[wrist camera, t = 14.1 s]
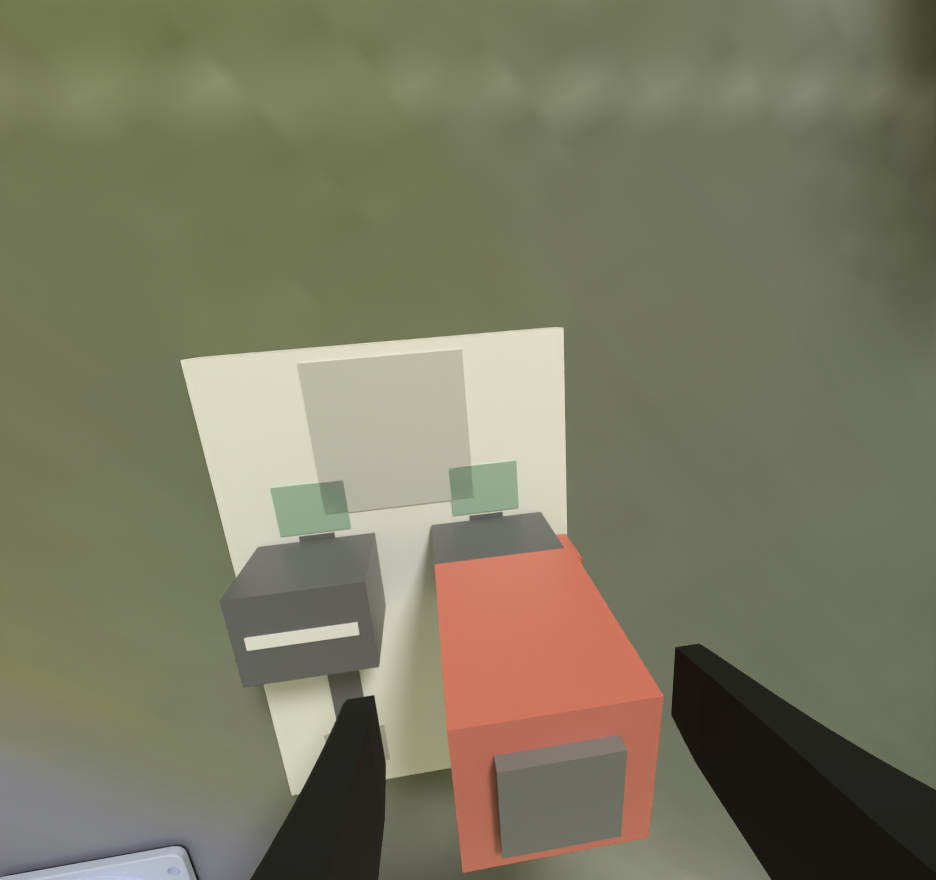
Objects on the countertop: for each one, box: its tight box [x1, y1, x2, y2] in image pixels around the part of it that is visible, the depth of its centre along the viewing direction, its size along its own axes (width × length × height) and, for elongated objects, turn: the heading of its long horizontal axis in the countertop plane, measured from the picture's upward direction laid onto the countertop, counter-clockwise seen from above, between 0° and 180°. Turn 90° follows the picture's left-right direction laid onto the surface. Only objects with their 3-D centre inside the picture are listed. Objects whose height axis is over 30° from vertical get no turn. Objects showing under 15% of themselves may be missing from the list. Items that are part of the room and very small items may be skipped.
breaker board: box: [180, 327, 567, 795], centre depth 17 cm, size 18×12×1 cm, turn 5°
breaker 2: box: [431, 512, 582, 568], centre depth 15 cm, size 3×5×3 cm, turn 95°
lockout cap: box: [434, 547, 664, 873], centre depth 11 cm, size 4×4×5 cm
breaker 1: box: [220, 533, 386, 688], centre depth 14 cm, size 3×4×3 cm
